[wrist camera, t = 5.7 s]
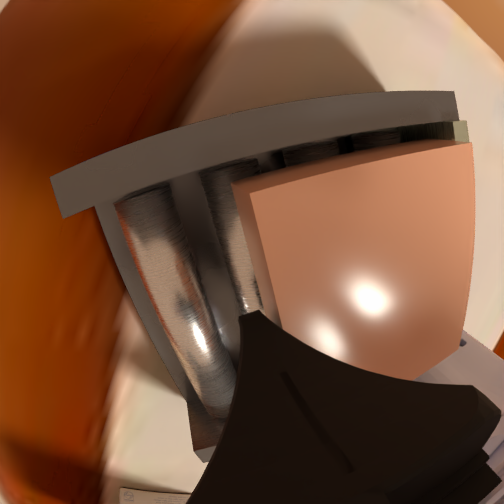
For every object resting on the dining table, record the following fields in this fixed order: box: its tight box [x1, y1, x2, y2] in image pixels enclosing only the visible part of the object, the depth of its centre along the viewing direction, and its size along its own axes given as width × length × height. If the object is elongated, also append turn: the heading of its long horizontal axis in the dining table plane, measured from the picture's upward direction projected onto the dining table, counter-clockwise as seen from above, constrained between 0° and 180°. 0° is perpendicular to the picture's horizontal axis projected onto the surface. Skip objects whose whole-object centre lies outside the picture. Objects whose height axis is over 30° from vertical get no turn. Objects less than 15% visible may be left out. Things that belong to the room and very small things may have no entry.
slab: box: [230, 139, 475, 381], centre depth 10 cm, size 8×9×2 cm
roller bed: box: [50, 91, 469, 463], centre depth 12 cm, size 14×13×5 cm
